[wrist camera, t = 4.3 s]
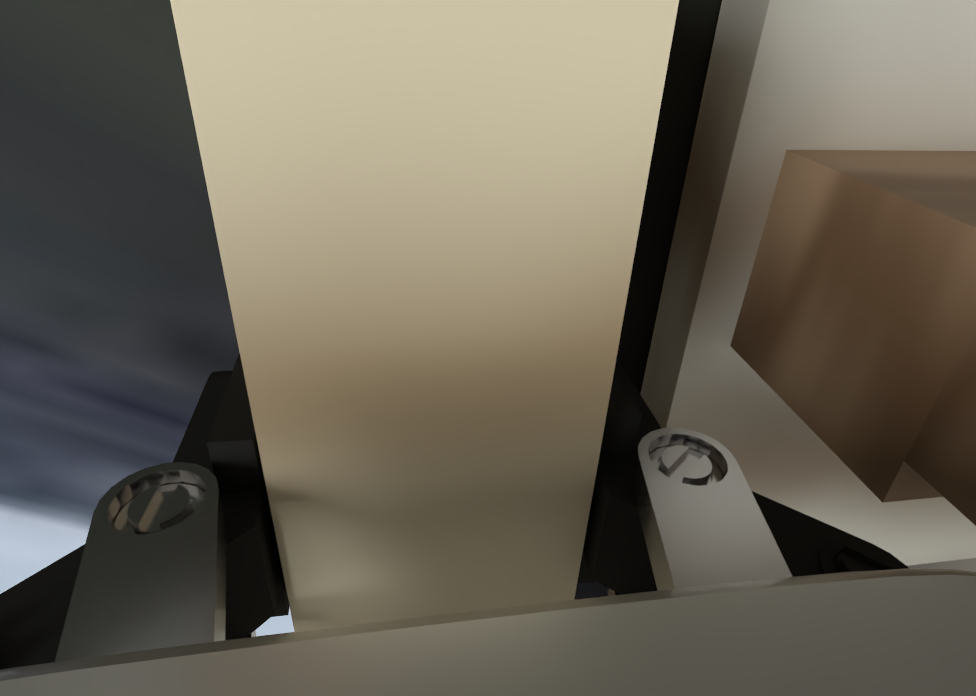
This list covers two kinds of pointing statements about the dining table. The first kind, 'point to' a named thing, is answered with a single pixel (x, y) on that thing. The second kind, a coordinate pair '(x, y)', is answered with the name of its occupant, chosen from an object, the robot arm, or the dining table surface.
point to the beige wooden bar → (426, 278)
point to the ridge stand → (833, 267)
